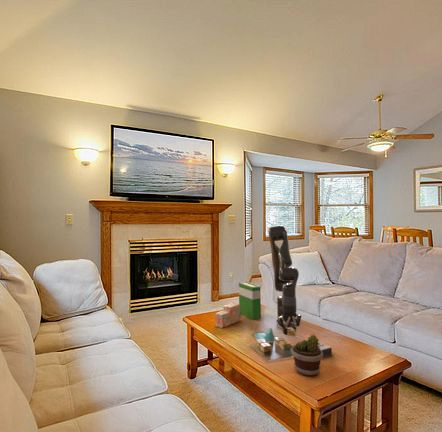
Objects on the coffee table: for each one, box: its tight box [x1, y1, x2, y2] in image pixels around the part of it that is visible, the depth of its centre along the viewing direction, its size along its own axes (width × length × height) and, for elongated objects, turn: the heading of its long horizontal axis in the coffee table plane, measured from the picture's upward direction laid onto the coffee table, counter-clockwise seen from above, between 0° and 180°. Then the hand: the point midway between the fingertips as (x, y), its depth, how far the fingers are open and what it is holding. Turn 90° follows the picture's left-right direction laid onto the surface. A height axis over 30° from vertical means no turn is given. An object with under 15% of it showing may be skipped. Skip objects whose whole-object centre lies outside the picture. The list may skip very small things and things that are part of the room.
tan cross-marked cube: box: [286, 327, 297, 337], centre depth 168 cm, size 4×4×3 cm
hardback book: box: [238, 281, 262, 321], centre depth 233 cm, size 18×7×24 cm, turn 26°
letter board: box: [251, 336, 294, 361], centre depth 171 cm, size 22×20×4 cm
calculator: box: [297, 340, 333, 358], centre depth 170 cm, size 11×4×15 cm
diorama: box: [253, 327, 275, 342], centre depth 189 cm, size 12×20×9 cm, turn 25°
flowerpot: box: [290, 333, 324, 377], centre depth 148 cm, size 14×15×20 cm
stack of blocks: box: [214, 302, 241, 329], centre depth 217 cm, size 21×6×12 cm, turn 136°
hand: (289, 334), depth 168 cm, fingers closed on tan cross-marked cube, 4 cm apart
